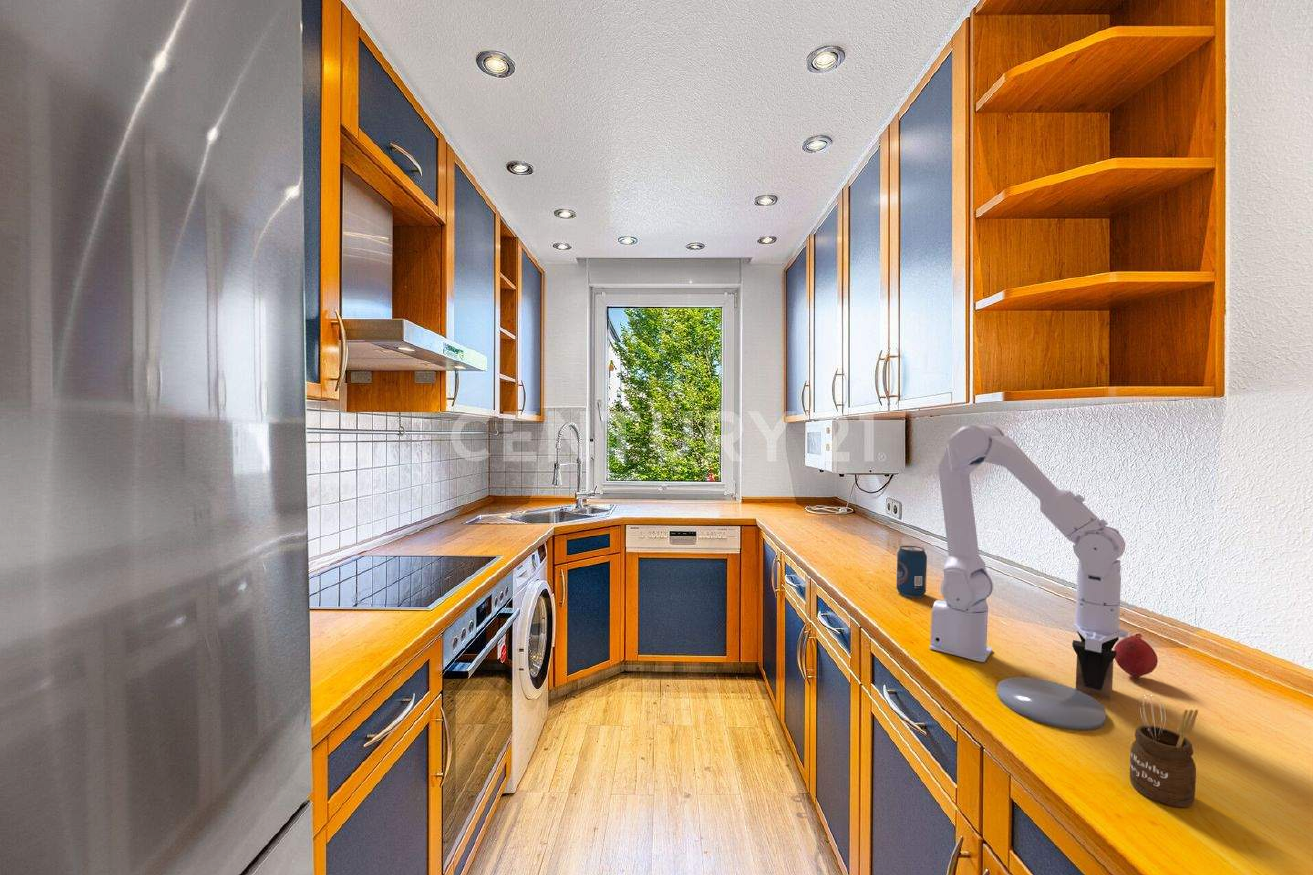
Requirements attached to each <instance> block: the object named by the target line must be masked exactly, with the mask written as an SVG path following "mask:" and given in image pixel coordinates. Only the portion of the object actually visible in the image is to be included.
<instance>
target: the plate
mask: <svg viewBox="0 0 1313 875" xmlns="http://www.w3.org/2000/svg"><path fill="white" fill-rule="evenodd" d="M996 693H997V697H998V700H1000V702H1001V703H1002V704H1003V705H1004V706H1006V707H1007V708H1008V709H1010V710H1011V711H1013V712H1015V713H1017V714H1019V715H1021V716H1022V717H1025V718H1027V719H1029V720H1032V721H1036V722H1037V723H1040V724H1044V725H1048V726H1050V727H1055V728H1059V729H1060V728H1061V729H1065V730H1075V731H1092V730H1093V731H1094V730H1097V729H1100V728H1102V727H1104V725H1105V724H1106V721H1107V711H1106V709H1105V707H1104V705H1102V704H1101V703H1100V702H1099V701H1098V700H1097V699H1095V698H1094V697H1093V696H1091V695H1087V694H1085V693H1083V692H1081V691H1078V690H1076V688H1073V687H1072V686H1071V687H1070V686H1068V685H1065V684H1062V683H1058V682H1054V681H1051V680H1046V679H1042V678H1034V677H1024V676H1023V677H1021V676H1019V677H1018V676H1015V677H1009V678H1004V679H1002V680H999V682H998V683H997V692H996Z"/></svg>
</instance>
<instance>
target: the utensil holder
mask: <svg viewBox="0 0 1313 875" xmlns="http://www.w3.org/2000/svg"><path fill="white" fill-rule="evenodd" d="M1148 697H1150V698H1149V699H1150V703H1152V702H1153V699H1152V698H1155V699H1157V700H1156V702H1157V703H1158V706H1159V708H1162V707H1163V708H1165V706H1164V704H1163V702H1161V701H1160V699H1158V697H1156V696H1155V695H1152V694H1147V695H1143V696H1142V698H1143V700H1142V698H1140V700H1139V701H1141V700H1142V705H1145V699H1146V698H1148ZM1161 704H1162V705H1161ZM1153 706H1154V705H1153V704H1151V706H1150V708H1151V709H1150V710H1151V712H1152V714H1151V716H1152V717H1151V719H1152V720H1154V718H1155V714H1154V712H1153V709H1154V707H1153ZM1139 711H1140V712H1139V713H1140V716H1141V720H1142V722H1143V723H1144V725H1139V726H1137V727H1136V729H1135V732H1134V738H1135V740H1134V741H1133V742H1132V744H1131V746H1130V753H1129V754H1130V757H1129V781H1130V783H1131V785H1132V787H1133V788H1134V789H1135V790H1137V792H1139V793H1140V794H1142V795H1143V796H1145V797H1146V798H1148V799H1151V800H1153V801H1155V802H1157V803H1160V804H1163V805H1167V806H1169V807H1174V808H1188V807H1190V806H1192V805H1193V803H1194V801H1195V797H1196V796H1195V795H1196V780H1197V767H1196V763H1195V761H1194V758H1193V757H1192V756H1194V755H1193V754H1194V749H1193V744H1192V743H1191V741H1190V740H1189V739H1187V738H1186V737H1185V736H1186V735H1187V734H1189V733H1192V731H1193V728H1194V725H1195V722H1196V720H1197V717H1198V713H1199V710H1198V709H1195V710H1193V709H1190V710H1188V709H1184V711H1183V714H1182V716H1181V719H1180V721H1179V724H1178V726H1177V732H1175V731H1172V730H1170V729H1166V728H1165V725H1166V723H1164V725H1163V727H1162V724H1163V713H1162V711H1164V714H1166V710H1165V709H1163V710H1162V709H1159V713H1160V717H1161V718H1160V720H1161V722H1160V723H1161V724H1160V726H1156V725H1155V724H1156V723H1155V721H1153V722H1152V725H1149V722H1148V720H1147V716H1146V710H1145V708H1142V710H1141V708H1139ZM1141 711H1142V712H1143V715H1144V716H1143V715H1142V712H1141ZM1166 719H1167V718H1166V716H1164V722H1167V721H1166Z"/></svg>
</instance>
